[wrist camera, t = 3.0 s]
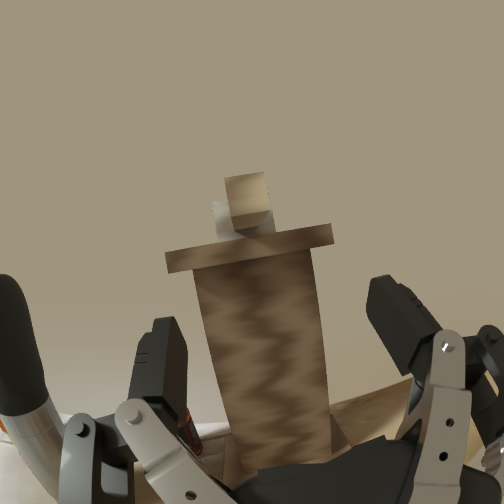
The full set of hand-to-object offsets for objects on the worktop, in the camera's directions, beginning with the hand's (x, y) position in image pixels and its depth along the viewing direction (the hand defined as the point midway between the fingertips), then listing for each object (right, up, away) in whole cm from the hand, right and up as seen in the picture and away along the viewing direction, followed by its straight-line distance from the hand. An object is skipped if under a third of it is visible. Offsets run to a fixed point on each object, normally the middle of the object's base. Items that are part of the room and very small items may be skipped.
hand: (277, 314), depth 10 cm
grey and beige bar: (-1, +4, +15) cm, 16 cm away
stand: (+4, -28, +21) cm, 35 cm away
